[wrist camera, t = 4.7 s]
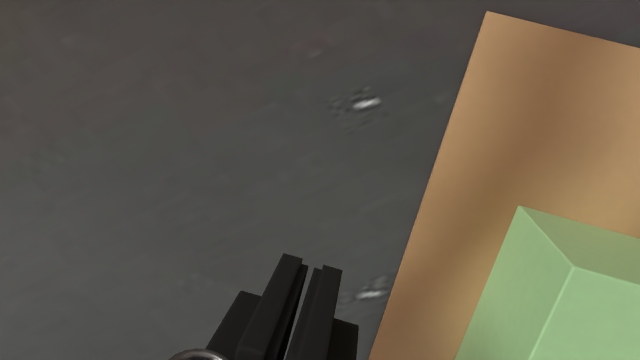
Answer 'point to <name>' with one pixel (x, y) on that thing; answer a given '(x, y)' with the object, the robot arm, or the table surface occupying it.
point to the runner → (515, 171)
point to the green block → (558, 294)
